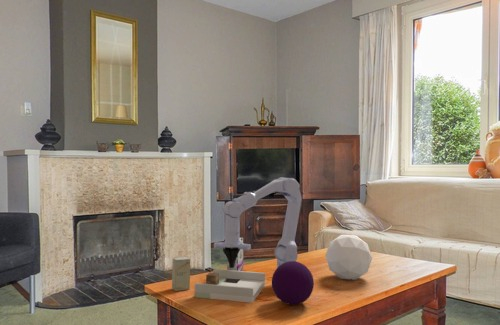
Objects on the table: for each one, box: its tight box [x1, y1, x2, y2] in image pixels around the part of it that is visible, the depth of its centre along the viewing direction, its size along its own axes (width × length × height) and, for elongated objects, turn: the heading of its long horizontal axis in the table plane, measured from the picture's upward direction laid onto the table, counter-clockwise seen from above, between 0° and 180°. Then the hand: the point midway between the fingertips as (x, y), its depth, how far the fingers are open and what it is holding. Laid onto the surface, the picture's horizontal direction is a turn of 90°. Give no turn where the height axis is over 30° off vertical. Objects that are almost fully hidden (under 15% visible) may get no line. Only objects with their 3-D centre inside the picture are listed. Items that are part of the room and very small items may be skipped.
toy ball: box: [271, 260, 315, 306], centre depth 149 cm, size 15×15×15 cm
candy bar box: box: [226, 237, 244, 271], centre depth 183 cm, size 11×5×16 cm, turn 168°
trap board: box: [194, 268, 266, 304], centre depth 163 cm, size 22×22×5 cm
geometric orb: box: [325, 234, 373, 281], centre depth 183 cm, size 19×20×20 cm
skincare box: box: [171, 256, 191, 292], centre depth 165 cm, size 6×4×12 cm
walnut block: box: [205, 272, 219, 285], centre depth 165 cm, size 4×4×4 cm
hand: (232, 267), depth 163 cm, fingers closed
